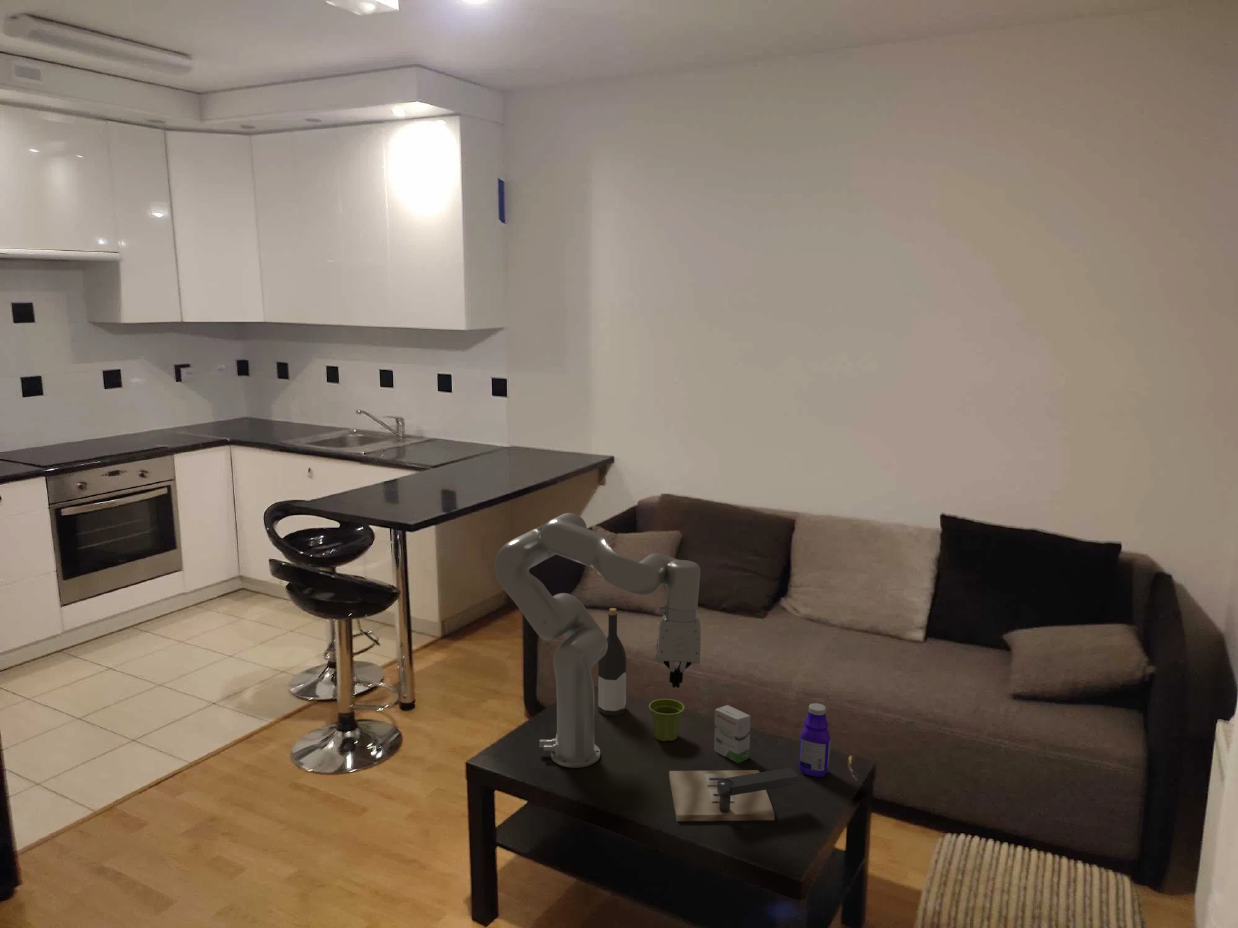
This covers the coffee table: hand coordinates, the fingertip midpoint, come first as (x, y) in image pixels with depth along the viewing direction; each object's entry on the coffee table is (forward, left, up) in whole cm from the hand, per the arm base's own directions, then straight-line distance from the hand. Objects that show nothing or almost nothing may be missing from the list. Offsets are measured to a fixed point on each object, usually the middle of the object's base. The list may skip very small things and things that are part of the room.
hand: (675, 684), depth 213 cm
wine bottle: (-14, +37, -24) cm, 46 cm away
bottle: (+35, +2, -24) cm, 43 cm away
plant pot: (0, +21, -24) cm, 32 cm away
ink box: (+16, +11, -24) cm, 31 cm away
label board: (+10, -9, -24) cm, 28 cm away
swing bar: (+18, -15, -18) cm, 29 cm away
